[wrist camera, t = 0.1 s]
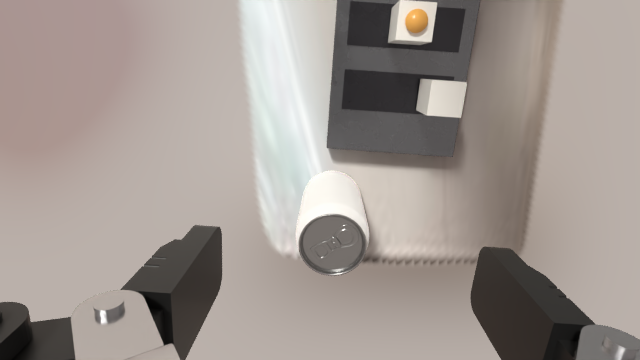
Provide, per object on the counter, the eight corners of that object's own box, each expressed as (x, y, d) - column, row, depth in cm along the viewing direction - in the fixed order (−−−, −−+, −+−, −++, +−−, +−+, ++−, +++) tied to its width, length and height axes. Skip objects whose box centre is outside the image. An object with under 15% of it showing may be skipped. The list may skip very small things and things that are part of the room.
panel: (345, -120, 33) (347, -133, 31) (491, -111, 33) (502, -123, 31) (326, 144, 40) (326, 148, 38) (446, 152, 40) (453, 157, 38)
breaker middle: (391, 8, 34) (400, -1, 29) (424, 10, 34) (438, 1, 29) (387, 42, 34) (396, 39, 30) (419, 45, 34) (432, 41, 30)
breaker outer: (420, 78, 35) (431, 80, 31) (451, 80, 35) (467, 82, 31) (415, 110, 36) (426, 115, 32) (446, 112, 36) (461, 117, 32)
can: (371, 204, 42) (387, 256, 30) (323, 233, 43) (321, 293, 31) (340, 158, 40) (344, 194, 29) (292, 189, 41) (277, 235, 30)
